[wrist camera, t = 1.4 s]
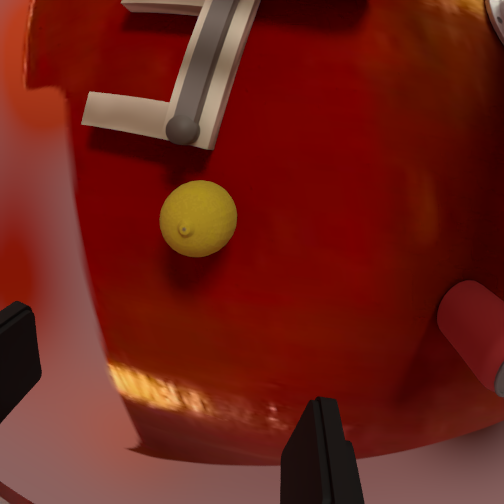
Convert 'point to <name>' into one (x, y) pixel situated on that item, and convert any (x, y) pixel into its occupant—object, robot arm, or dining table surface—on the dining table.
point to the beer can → (476, 330)
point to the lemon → (198, 218)
